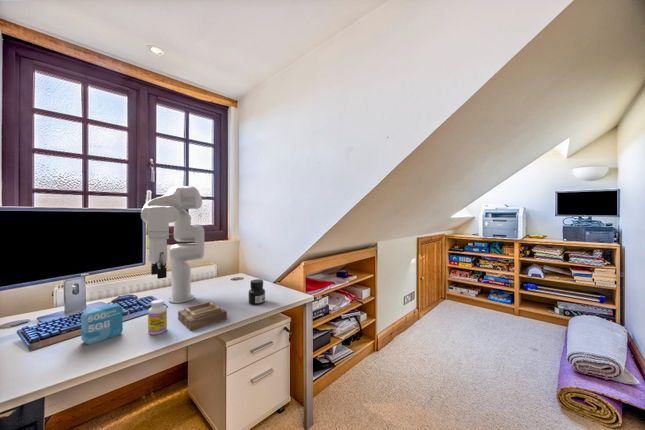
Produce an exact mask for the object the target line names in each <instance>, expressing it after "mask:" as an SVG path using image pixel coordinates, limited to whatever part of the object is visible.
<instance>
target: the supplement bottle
mask: <svg viewBox="0 0 645 430" xmlns="http://www.w3.org/2000/svg"><path fill="white" fill-rule="evenodd" d="M164 303H165V300H164V299H155V300H152V301H150V306H151V307H150V308H149V309H148V311H147V318H148V319H147V327H148V328H147V330H148V331H147V333H148V334H149V335H153V336H154V335H159V334H163V333H165V332H166V331H167V328H168V327H167V326H168V320H167V319H168V315H167V314H168V313H167V312H168V311H167V310H168V309H167V306H166V305H164Z"/></svg>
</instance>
